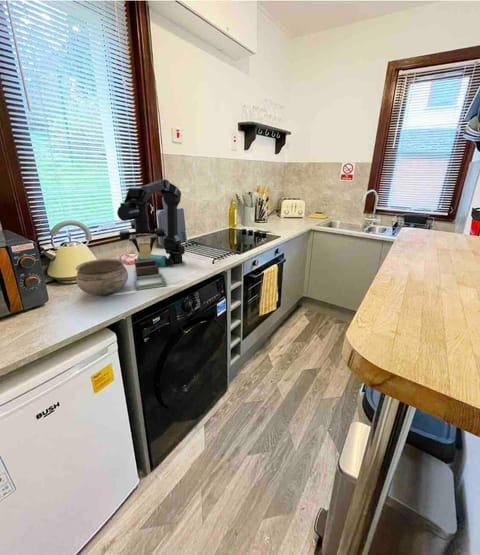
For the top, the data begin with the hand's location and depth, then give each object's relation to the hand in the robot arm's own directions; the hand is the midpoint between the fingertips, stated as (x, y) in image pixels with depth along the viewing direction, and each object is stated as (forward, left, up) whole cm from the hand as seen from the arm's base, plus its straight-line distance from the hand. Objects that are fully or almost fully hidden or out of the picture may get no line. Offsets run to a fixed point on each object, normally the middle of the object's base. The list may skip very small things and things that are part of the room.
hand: (145, 252), depth 122 cm
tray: (0, +5, -13) cm, 14 cm away
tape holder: (0, -9, -13) cm, 16 cm away
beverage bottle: (+3, -25, -10) cm, 27 cm away
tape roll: (0, 0, -3) cm, 2 cm away
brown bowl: (+18, +8, -14) cm, 24 cm away
